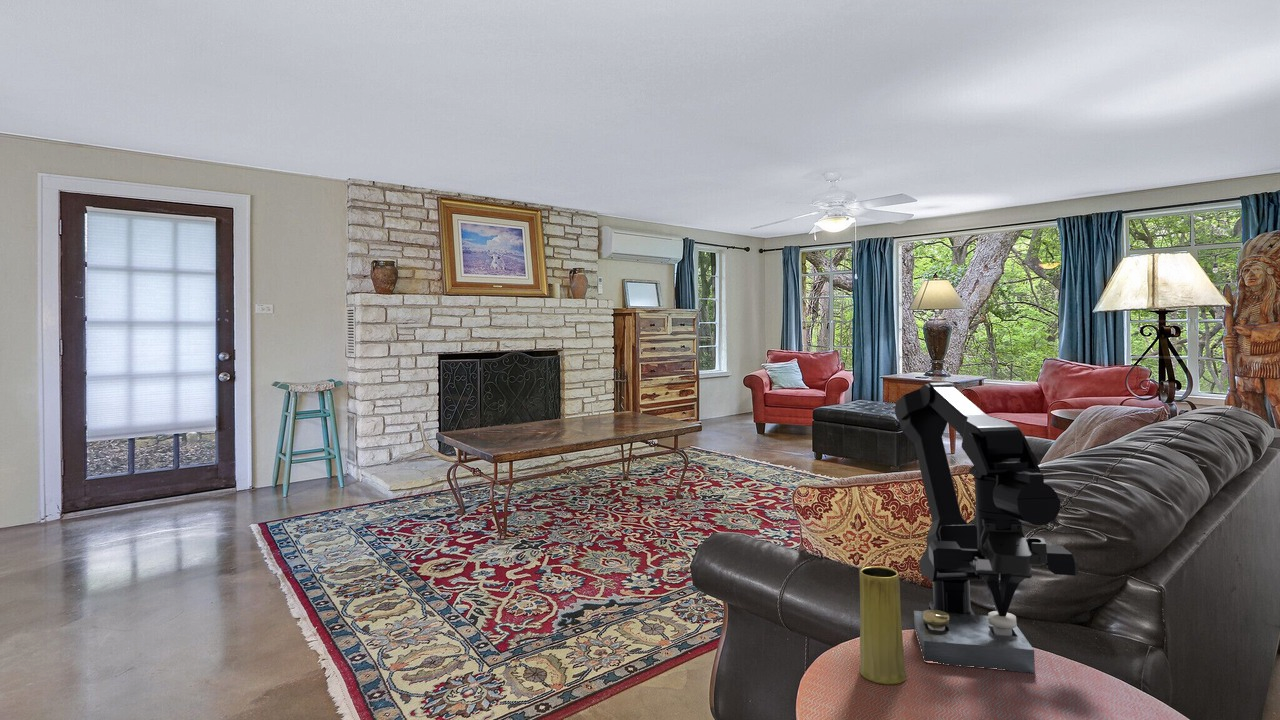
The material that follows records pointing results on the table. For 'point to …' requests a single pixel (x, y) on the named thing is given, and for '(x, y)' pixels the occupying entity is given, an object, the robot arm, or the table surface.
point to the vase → (881, 626)
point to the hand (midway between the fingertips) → (1001, 615)
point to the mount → (974, 644)
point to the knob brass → (936, 619)
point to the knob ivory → (1002, 623)
